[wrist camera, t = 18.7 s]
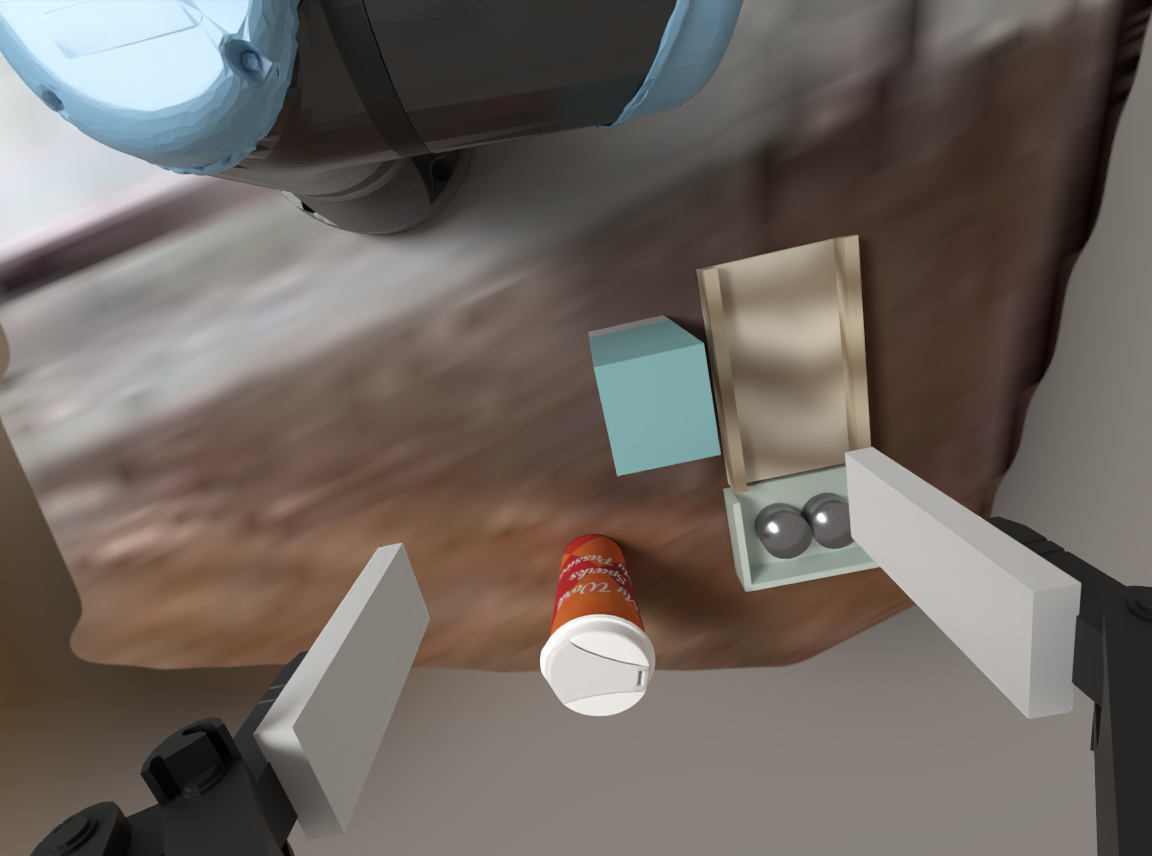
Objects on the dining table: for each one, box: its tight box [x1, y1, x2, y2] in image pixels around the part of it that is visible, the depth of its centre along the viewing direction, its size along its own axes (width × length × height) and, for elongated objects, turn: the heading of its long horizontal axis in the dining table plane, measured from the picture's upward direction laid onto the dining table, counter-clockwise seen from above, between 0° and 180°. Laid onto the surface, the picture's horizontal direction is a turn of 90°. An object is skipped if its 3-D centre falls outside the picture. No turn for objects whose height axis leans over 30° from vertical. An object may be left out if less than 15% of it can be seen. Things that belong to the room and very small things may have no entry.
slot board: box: [696, 235, 871, 494], centre depth 42 cm, size 18×11×2 cm, turn 13°
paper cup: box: [540, 534, 655, 716], centre depth 42 cm, size 8×8×14 cm
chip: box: [754, 503, 812, 559], centre depth 46 cm, size 4×4×2 cm
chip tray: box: [723, 464, 880, 592], centre depth 46 cm, size 8×12×3 cm
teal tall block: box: [588, 315, 721, 476], centre depth 37 cm, size 6×6×14 cm
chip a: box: [801, 493, 855, 549], centre depth 46 cm, size 4×4×2 cm
